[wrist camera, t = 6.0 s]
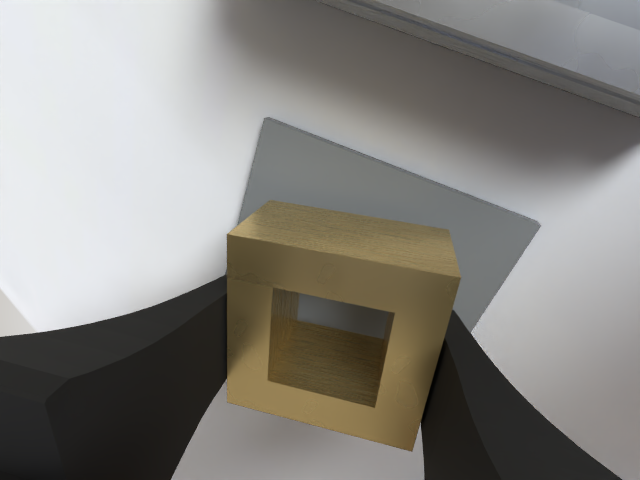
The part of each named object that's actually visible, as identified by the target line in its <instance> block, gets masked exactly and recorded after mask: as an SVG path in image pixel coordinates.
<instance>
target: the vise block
mask: <svg viewBox="0 0 640 480" xmlns="http://www.w3.org/2000/svg"><path fill="white" fill-rule="evenodd" d="M315 1H318V2H321V3H324V4H326V5H329V6H332V7H335V8H337V9H340V10H343V11H346V12H349V13H351V14H354V15H357V16H360V17H362V18H365V19H368V20H371V21H374V22H376V23H379V24H382V25H385V26H387V27H390V28H393V29H396V30H398V31H401V32H404V33H407V34H410V35H412V36H415V37H418V38H421V39H423V40H426V41H429V42H432V43H434V44H437V45H440V46H443V47H446V48H448V49H451V50H454V51H457V52H459V53H462V54H465V55H468V56H470V57H473V58H476V59H479V60H482V61H484V62H487V63H490V64H493V65H495V66H498V67H501V68H504V69H507V70H509V71H512V72H515V73H518V74H520V75H523V76H526V77H529V78H531V79H534V80H537V81H540V82H543V83H545V84H548V85H551V86H554V87H556V88H559V89H562V90H565V91H567V92H570V93H573V94H576V95H579V96H581V97H584V98H587V99H590V100H592V101H595V102H598V103H601V104H603V105H606V106H609V107H612V108H615V109H617V110H620V111H623V112H626V113H628V114H631V115H634V116H637V117H640V0H315Z"/></svg>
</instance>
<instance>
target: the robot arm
mask: <svg viewBox="0 0 640 480" xmlns="http://www.w3.org/2000/svg"><path fill="white" fill-rule="evenodd" d="M226 379H227V275H224V276H222V277H220V278H218V279H216V280H214V281H212V282H210V283H207V284H205V285H203V286H201V287H199V288H197V289H194V290H192V291H190V292H187V293H185V294H182V295H180V296H178V297H175V298H173V299H170V300H168V301H165V302H163V303H160V304H157V305H155V306H152V307H149V308H146V309H143V310H140V311H136V312H133V313H130V314H126V315H123V316H119V317H115V318H111V319H107V320H103V321H99V322H95V323H91V324H86V325H81V326H76V327H70V328H65V329H59V330H53V331H47V332H40V333H33V334H23V335H14V336H5V337H0V480H171V478H172V476H173V474H174V472H175V470H176V468H177V466H178V464H179V462H180V460H181V458H182V455H183V453H184V451H185V449H186V447H187V445H188V443H189V442H190V440H191V438H192V436H193V434H194V432H195V430H196V428H197V426H198V424H199V422H200V420H201V418H202V417H203V415H204V413H205V412H206V410H207V408H208V407H209V405H210V403H211V402H212V400H213V399H214V397H215V396H216V394H217V393H218V391H219V390H220V388H221V387H222V385H223V384H224V382H225V380H226ZM421 431H422V443H423V455H424V473H425V480H622V479H621V478H619V477H618V476H617V475H615V474H614V473H613V472H611V471H610V470H609V469H607V468H606V467H605V466H603V465H602V464H601V463H599V462H598V461H597V460H595V459H594V458H593V457H591V456H590V455H589V454H588V453H586V452H585V451H584V450H582V449H581V448H580V447H579V446H577V445H576V444H575V443H574V442H573V441H571V440H570V439H569V438H568V437H567V436H566V435H564V434H563V433H562V432H561V431H560V430H559V429H557V428H556V427H555V426H554V425H553V424H551V423H550V422H549V421H548V420H547V419H546V418H545V417H544V416H543V415H542V414H540V413H539V412H538V411H537V410H536V409H535V408H534V407H533V406H532V405H531V404H530V403H529V402H528V401H527V400H526V399H525V398H524V397H523V396H522V395H521V394H520V393H519V392H518V391H517V390H516V389H515V388H514V387H513V385H512V384H511V383H510V382H509V381H508V380H507V379H506V378H505V376H504V375H503V374H502V373H501V372H500V371H499V370H498V368H497V367H496V366H495V365H494V364H493V362H492V361H491V360H490V359H489V357H488V356H487V355H486V354H485V352H484V351H483V350H482V348H481V347H480V346H479V344H478V343H477V342H476V340H475V339H474V338H473V336H472V335H471V333H470V332H469V331H468V329H467V328H466V326H465V325H464V323H463V322H462V320H461V319H460V318H459V316H458V315H457V313H456V312H455V311H454V310H452V312H451V316H450V319H449V323H448V326H447V330H446V333H445V337H444V340H443V344H442V348H441V351H440V355H439V358H438V362H437V365H436V369H435V372H434V376H433V379H432V383H431V387H430V390H429V394H428V397H427V401H426V404H425V408H424V411H423V415H422V418H421Z"/></svg>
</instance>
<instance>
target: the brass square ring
mask: <svg viewBox="0 0 640 480" xmlns="http://www.w3.org/2000/svg"><path fill="white" fill-rule="evenodd" d="M460 280H461V275H460V271H459V267H458V263H457V259H456V255H455V251H454V247H453V243H452V239H451V235H450V231H449V230H448V229H442V228H436V227H430V226H425V225H419V224H413V223H407V222H401V221H395V220H389V219H383V218H377V217H371V216H365V215H359V214H353V213H347V212H341V211H335V210H329V209H323V208H317V207H311V206H305V205H299V204H293V203H287V202H281V201H275V200H269V201H268V202H267V203H265V204H264V205H263V206H262V207H260V208H259V209H258V210H257V211H255V212H254V213H253V214H252V215H250V216H249V217H248V218H247V219H245V220H244V221H243V222H241V223H240V224H239V225H238V226H236V227H235V228H234V229H233V230H231V231H230V232H229V233H228V234H227V402H228V403H232V404H236V405H240V406H243V407H247V408H251V409H255V410H258V411H262V412H266V413H270V414H273V415H277V416H281V417H285V418H288V419H292V420H296V421H299V422H303V423H307V424H311V425H314V426H318V427H322V428H326V429H329V430H333V431H337V432H341V433H344V434H348V435H352V436H356V437H359V438H363V439H367V440H371V441H374V442H378V443H382V444H386V445H389V446H393V447H397V448H401V449H404V450H408V451H412V450H413V447H414V443H415V440H416V436H417V433H418V429H419V426H420V422H421V418H422V415H423V411H424V408H425V404H426V401H427V397H428V394H429V390H430V387H431V383H432V379H433V376H434V372H435V369H436V365H437V362H438V358H439V355H440V351H441V348H442V344H443V340H444V337H445V333H446V330H447V326H448V323H449V319H450V316H451V312H452V309H453V305H454V301H455V298H456V294H457V291H458V287H459V284H460ZM300 293H302V294H307V295H312V296H316V297H321V298H326V299H331V300H336V301H340V302H345V303H350V304H355V305H360V306H364V307H369V308H374V309H379V310H384V311H389V312H388V317H387V322H386V327H385V332H384V337H383V339H381V338H376V337H372V336H367V335H363V334H358V333H354V332H349V331H344V330H340V329H335V328H331V327H326V326H322V325H317V324H313V323H308V322H304V321H299V320H297V318H298V307H299V296H300Z"/></svg>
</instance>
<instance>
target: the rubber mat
mask: <svg viewBox="0 0 640 480" xmlns="http://www.w3.org/2000/svg"><path fill="white" fill-rule="evenodd" d="M269 200H275V201H281V202H287V203H293V204H299V205H305V206H311V207H317V208H323V209H329V210H335V211H341V212H347V213H353V214H359V215H365V216H371V217H377V218H383V219H389V220H395V221H401V222H407V223H413V224H419V225H425V226H430V227H436V228H442V229H448V230H449V231H450V235H451V239H452V243H453V247H454V251H455V255H456V259H457V263H458V267H459V271H460V275H461V280H460V284H459V287H458V291H457V294H456V298H455V301H454V305H453V309H452V310H454V311H455V312H456V313H457V315H458V316H459V318H460V319H461V320H462V322H463V323H464V325H465V326H466V328H467V329H468V331H469V332H471V331H472V329H473V328H474V326H475V325H476V323H477V322H478V320H479V319H480V317H481V316H482V314H483V313H484V311H485V310H486V308H487V307H488V305H489V304H490V302H491V301H492V299H493V298H494V296H495V295H496V293H497V292H498V290H499V289H500V287H501V286H502V284H503V283H504V281H505V280H506V278H507V277H508V275H509V274H510V272H511V270H512V269H513V267H514V266H515V264H516V263H517V261H518V260H519V258H520V257H521V255H522V254H523V252H524V251H525V249H526V248H527V246H528V245H529V243H530V242H531V240H532V239H533V237H534V236H535V234H536V233H537V231H538V230H539V228H540V227H541V225H540V224H539V223H538V222H537V221H535V220H533V219H530V218H527V217H525V216H522V215H520V214H517V213H515V212H512V211H509V210H507V209H504V208H502V207H499V206H496V205H494V204H491V203H489V202H486V201H484V200H481V199H478V198H476V197H473V196H471V195H468V194H465V193H463V192H460V191H458V190H455V189H453V188H450V187H447V186H445V185H442V184H440V183H437V182H435V181H432V180H429V179H427V178H424V177H422V176H419V175H416V174H414V173H411V172H409V171H406V170H404V169H401V168H398V167H396V166H393V165H391V164H388V163H385V162H383V161H380V160H378V159H375V158H373V157H370V156H367V155H365V154H362V153H360V152H357V151H355V150H352V149H349V148H347V147H344V146H342V145H339V144H336V143H334V142H331V141H329V140H326V139H324V138H321V137H318V136H316V135H313V134H311V133H308V132H305V131H303V130H300V129H298V128H295V127H293V126H290V125H287V124H285V123H282V122H280V121H277V120H275V119H272V118H269V117H268V118H264V121H263V125H262V129H261V133H260V137H259V141H258V145H257V149H256V153H255V157H254V161H253V165H252V169H251V173H250V177H249V181H248V185H247V189H246V193H245V197H244V201H243V205H242V209H241V213H240V217H239V221H238V225H239V224H240V223H241V222H243V221H244V220H245V219H247V218H248V217H249V216H250V215H252V214H253V213H254V212H255V211H257V210H258V209H259V208H260V207H262V206H263V205H264V204H265V203H267V202H268V201H269ZM238 225H237V226H238ZM225 275H227V269H226V273H225ZM388 312H389V311H384V310H379V309H374V308H369V307H364V306H360V305H355V304H350V303H345V302H340V301H336V300H331V299H326V298H321V297H316V296H312V295H307V294H302V293H300V296H299V307H298V318H297V320H299V321H304V322H308V323H313V324H317V325H322V326H326V327H331V328H335V329H340V330H344V331H349V332H354V333H358V334H363V335H367V336H372V337H376V338H381V339H383V337H384V332H385V327H386V322H387V317H388Z"/></svg>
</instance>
